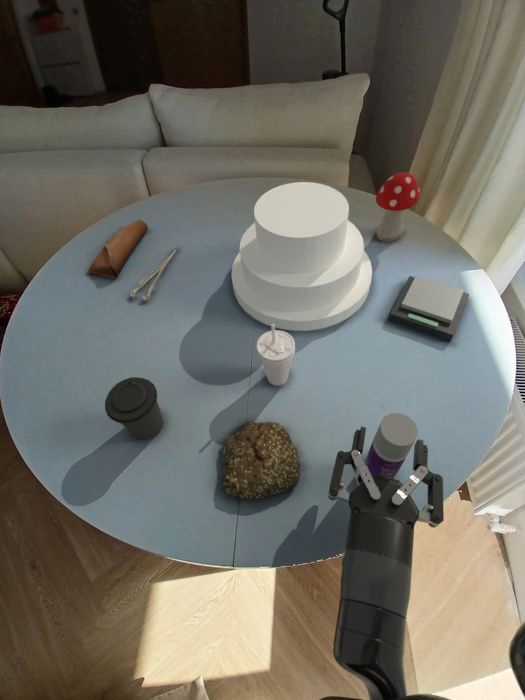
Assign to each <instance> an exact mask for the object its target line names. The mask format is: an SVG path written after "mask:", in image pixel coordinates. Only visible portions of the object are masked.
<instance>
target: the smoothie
mask: <svg viewBox="0 0 525 700" xmlns="http://www.w3.org/2000/svg"><path fill="white" fill-rule="evenodd" d="M270 328H271V330H269V331H265V333H262V334H261V335H260V337H259V338H258V339H257V340H256V341H257V342H256V354H257V355H258V357H259V358H260V361H261V363H262V366H263V369H264V371H265V372H264V373H265V375H266V377H267V381H268V382H269V383H270V385H273V386H277V387H278V386H283V385H284V384H285V383H287V382H288V379H289V373H290V368H291V363H292V358H293V356H294V354H295V352H296V343H295V340H294V337H292V335H291V334H289V333H288V332H286V331H284V330H281V329H279V330H278V329H276V327H275V324H271V326H270Z"/></svg>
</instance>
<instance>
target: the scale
mask: <svg viewBox="0 0 525 700" xmlns="http://www.w3.org/2000/svg"><path fill="white" fill-rule="evenodd" d="M469 296H470V293H467V292H465V290H464V289H462V288H459V287H455V286H452V285H449V284H446V283H442V282H439V281H435V280H432V279H429V278H425V277H422V276H420V275H415V276H411V275H409V276H408V278H407V280H406V282H405V284H404V286H403V288H402V289H401V292H400V293H399V296H398V298H397V300H396V301H395V303H394V306H393V308H392V309H391V310H390V311H391V312H390V313H389V316H388V321H390V322H392V323H395V324H398V325H400V326H403V327H406V328H409V329H412V330H415V331H417V332H421V333H423V334H427V335H429V336H432V337H435V338H437V339H440V340H444V341H446V342H449V343H451V341H452V339H453V338H454V336H455V333H456V330H457V329H458V325H459V324H460V323H459V322H460V320H461V317H462V315H463V312H464V309H465V307H466V304H467V301H468V299H469Z"/></svg>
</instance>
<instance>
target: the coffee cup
mask: <svg viewBox="0 0 525 700" xmlns="http://www.w3.org/2000/svg"><path fill="white" fill-rule="evenodd" d="M104 411H105V413H106V415H107V416H108V417H109V419H111V421H113V422H116V423H118V424H121V425H122V426H123V427H124V428H125V429H127V430H128V431H129V432H130V433H131V434H132V435H134V436H135V437H136V438H138V439H140V440H146V441H147V440H151V439H153V438H155V437H157V436H158V434H160V433H161V431H162V430H163V427H164V418H163V414H162V412H161V408H160V405H159V402H158V390H157V388H156V386H155V384H154V383H153V382H152V381H151V380H149V379H146V378H145V377H138V376H136V377H128V378H125V379H123V380H120V381H119V382H117V383H116V384H115V385H113V386H112V387H111V389H110V390H109V391H108V393H107V395H106V399H105V401H104Z"/></svg>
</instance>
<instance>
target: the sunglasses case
mask: <svg viewBox="0 0 525 700" xmlns="http://www.w3.org/2000/svg"><path fill="white" fill-rule="evenodd" d="M148 229H149V227H148V224H147V223H146V222H145V221H144V220H142V219H137V220H135V221H133V222H131V223H129V224H128V225H125V226H124V227H121V228H119V229H117V230H116V231H115V232H114V233H113V235H111V236H110V237H109V238H108V239H107V240H106V242H105V243H104V244H103V248H102V249H101V250H100V252H98V254H97V255H96V257H95V258H94V259H93V261H92V262H91V264H90V266H89V268H88V269H87V272H88V273H89V274H91V275H95V276H99V277H104V278H109V279H116V278H117V277H118V275H120V273H121V271H122V270H123V268H124V266H125V264H126V262H127V261H128V259H129V257H130V255H132V253H133V251H134V250H135V249H136V247H137V245H138V244H139V243H140V242H141V240H142V238H143V237H144V236H145V234H146V232H147V231H148Z"/></svg>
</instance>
